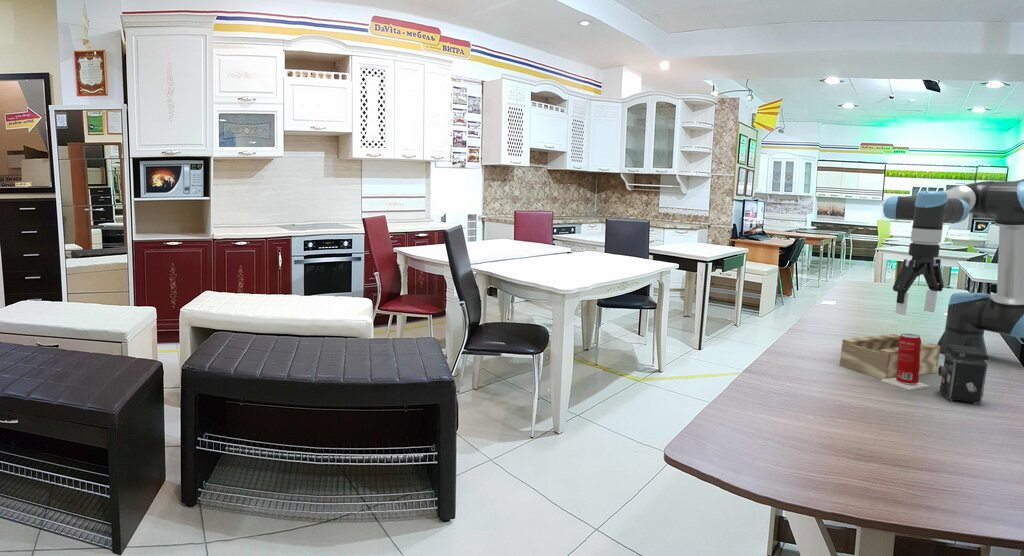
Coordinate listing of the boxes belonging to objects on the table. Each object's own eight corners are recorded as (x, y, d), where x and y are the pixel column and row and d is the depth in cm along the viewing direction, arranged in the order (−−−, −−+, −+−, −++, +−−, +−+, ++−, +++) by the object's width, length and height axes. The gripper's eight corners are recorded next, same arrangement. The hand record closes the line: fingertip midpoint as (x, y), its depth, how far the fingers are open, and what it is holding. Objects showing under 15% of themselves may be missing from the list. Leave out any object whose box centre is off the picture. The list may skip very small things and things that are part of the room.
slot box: (890, 358, 216) (893, 334, 214) (936, 372, 201) (940, 345, 200) (839, 365, 205) (842, 339, 204) (884, 379, 191) (888, 352, 189)
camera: (971, 394, 180) (979, 345, 177) (985, 406, 170) (994, 354, 167) (930, 389, 183) (938, 341, 181) (942, 400, 173) (950, 350, 171)
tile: (899, 378, 193) (900, 376, 193) (928, 387, 185) (928, 385, 185) (880, 381, 189) (881, 379, 189) (909, 390, 181) (909, 388, 181)
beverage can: (921, 386, 184) (928, 338, 181) (898, 384, 185) (905, 336, 182) (912, 380, 189) (919, 333, 187) (889, 378, 190) (896, 332, 188)
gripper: (938, 241, 188) (928, 307, 192) (885, 242, 178) (875, 312, 182) (964, 244, 182) (953, 312, 185) (910, 245, 172) (900, 317, 175)
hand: (914, 312), depth 183 cm, fingers open, 13 cm apart
